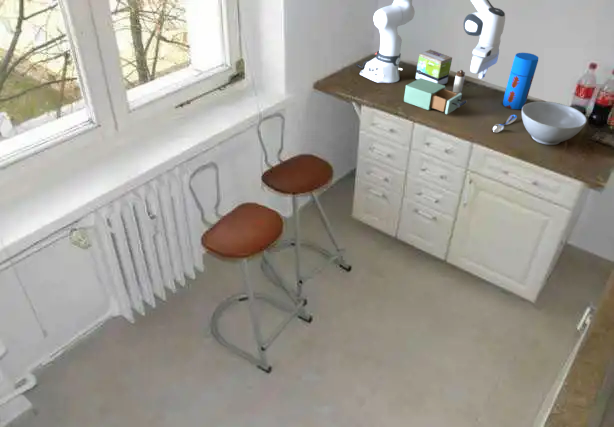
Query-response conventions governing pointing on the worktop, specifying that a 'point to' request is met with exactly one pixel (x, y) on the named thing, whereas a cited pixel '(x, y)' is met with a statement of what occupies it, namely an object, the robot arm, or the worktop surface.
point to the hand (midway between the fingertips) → (481, 77)
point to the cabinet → (421, 92)
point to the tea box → (433, 67)
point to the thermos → (520, 80)
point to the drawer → (446, 101)
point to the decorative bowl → (552, 121)
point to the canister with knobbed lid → (459, 82)
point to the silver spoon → (501, 126)
